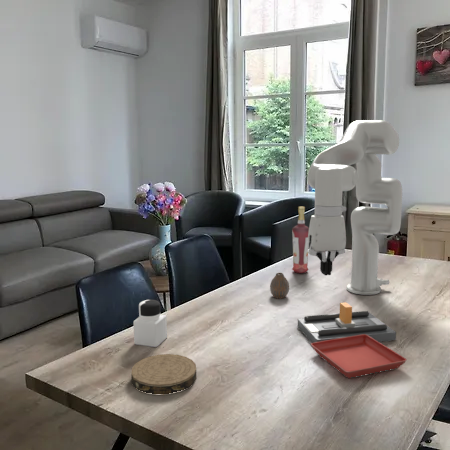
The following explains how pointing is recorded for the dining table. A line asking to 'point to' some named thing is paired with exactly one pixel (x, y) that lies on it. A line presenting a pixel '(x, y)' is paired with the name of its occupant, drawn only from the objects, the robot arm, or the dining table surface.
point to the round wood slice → (163, 374)
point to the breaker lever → (345, 316)
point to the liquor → (300, 244)
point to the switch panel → (331, 322)
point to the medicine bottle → (150, 324)
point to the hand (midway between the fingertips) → (326, 273)
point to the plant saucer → (358, 355)
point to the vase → (279, 286)
